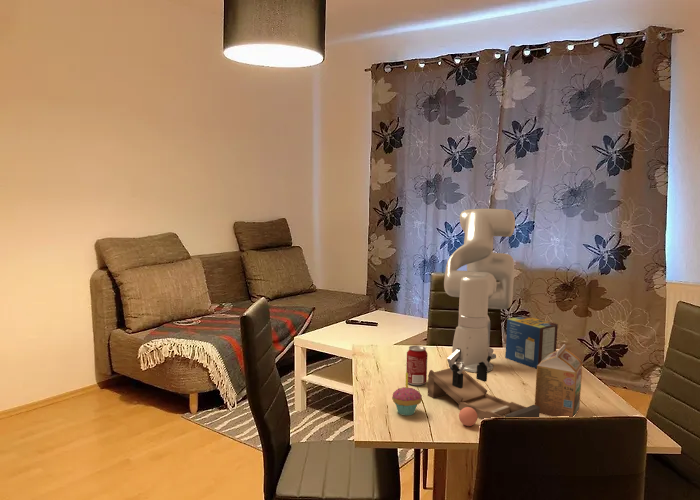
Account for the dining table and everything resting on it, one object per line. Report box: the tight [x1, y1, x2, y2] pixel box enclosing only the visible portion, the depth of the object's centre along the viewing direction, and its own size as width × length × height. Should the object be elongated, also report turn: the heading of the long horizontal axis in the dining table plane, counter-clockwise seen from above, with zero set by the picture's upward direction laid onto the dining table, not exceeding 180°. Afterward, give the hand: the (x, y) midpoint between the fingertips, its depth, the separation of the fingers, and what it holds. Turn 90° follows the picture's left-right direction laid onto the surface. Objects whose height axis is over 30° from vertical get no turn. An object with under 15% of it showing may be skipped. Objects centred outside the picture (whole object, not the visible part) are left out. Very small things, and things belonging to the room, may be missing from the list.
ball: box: [458, 407, 479, 427], centre depth 155 cm, size 5×5×5 cm
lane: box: [427, 366, 540, 420], centre depth 167 cm, size 32×12×8 cm, turn 37°
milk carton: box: [534, 343, 584, 417], centre depth 166 cm, size 11×10×19 cm
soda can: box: [405, 345, 428, 387], centre depth 187 cm, size 7×7×12 cm
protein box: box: [504, 315, 559, 370], centre depth 212 cm, size 10×15×16 cm
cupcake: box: [391, 369, 423, 416], centre depth 163 cm, size 9×8×12 cm
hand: (469, 383), depth 154 cm, fingers open, 9 cm apart
